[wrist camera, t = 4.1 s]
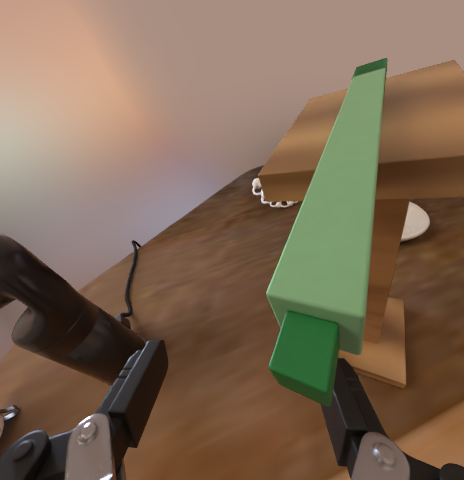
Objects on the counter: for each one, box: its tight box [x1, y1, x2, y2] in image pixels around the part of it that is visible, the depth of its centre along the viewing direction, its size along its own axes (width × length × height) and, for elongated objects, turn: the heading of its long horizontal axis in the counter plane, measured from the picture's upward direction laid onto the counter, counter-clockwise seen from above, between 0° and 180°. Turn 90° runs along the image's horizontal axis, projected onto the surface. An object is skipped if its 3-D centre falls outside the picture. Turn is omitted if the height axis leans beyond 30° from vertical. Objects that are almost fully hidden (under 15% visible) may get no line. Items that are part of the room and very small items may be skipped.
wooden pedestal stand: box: [258, 60, 464, 389], centre depth 24 cm, size 14×12×32 cm
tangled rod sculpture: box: [253, 178, 298, 208], centre depth 68 cm, size 19×14×4 cm
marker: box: [266, 58, 387, 407], centre depth 10 cm, size 21×2×2 cm, turn 153°
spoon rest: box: [401, 202, 430, 242], centre depth 47 cm, size 24×12×7 cm, turn 18°
